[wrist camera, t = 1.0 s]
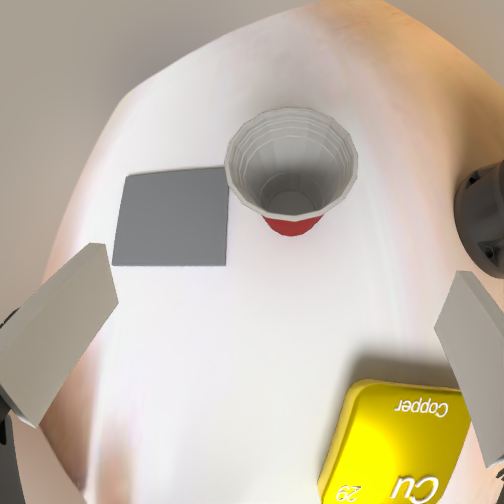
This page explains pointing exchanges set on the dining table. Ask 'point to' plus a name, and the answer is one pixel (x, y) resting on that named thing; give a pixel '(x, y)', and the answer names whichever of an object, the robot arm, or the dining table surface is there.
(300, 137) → the plastic cup
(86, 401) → the dining table surface
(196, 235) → the card
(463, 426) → the element tile
